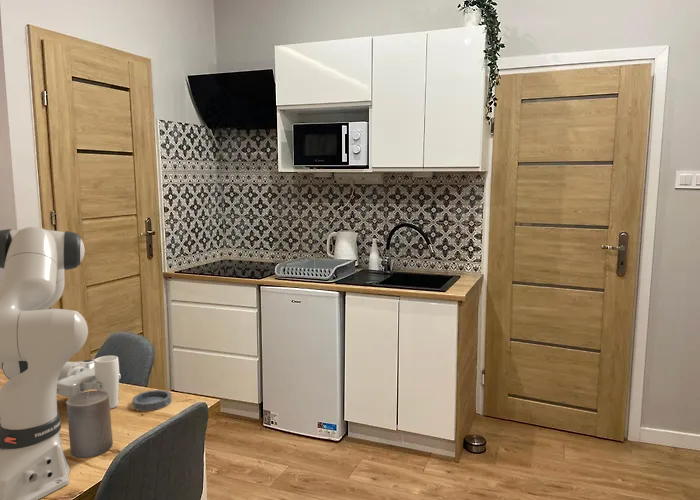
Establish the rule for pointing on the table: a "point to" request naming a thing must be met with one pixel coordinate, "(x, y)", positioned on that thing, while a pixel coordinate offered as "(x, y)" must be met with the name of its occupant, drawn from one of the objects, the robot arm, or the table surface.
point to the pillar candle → (89, 423)
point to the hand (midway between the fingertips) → (109, 381)
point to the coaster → (151, 400)
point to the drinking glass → (108, 377)
